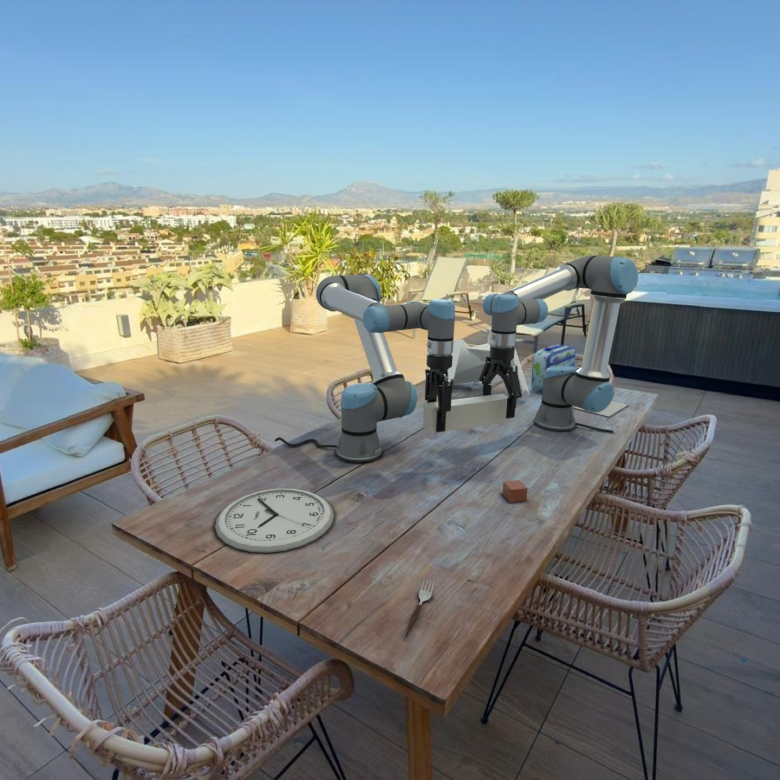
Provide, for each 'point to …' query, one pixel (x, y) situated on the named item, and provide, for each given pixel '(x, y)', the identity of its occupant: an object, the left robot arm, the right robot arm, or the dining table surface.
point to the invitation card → (609, 408)
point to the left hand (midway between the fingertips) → (436, 427)
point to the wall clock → (274, 520)
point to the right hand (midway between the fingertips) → (497, 410)
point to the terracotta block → (514, 491)
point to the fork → (423, 597)
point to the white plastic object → (475, 363)
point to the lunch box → (550, 362)
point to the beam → (468, 413)
